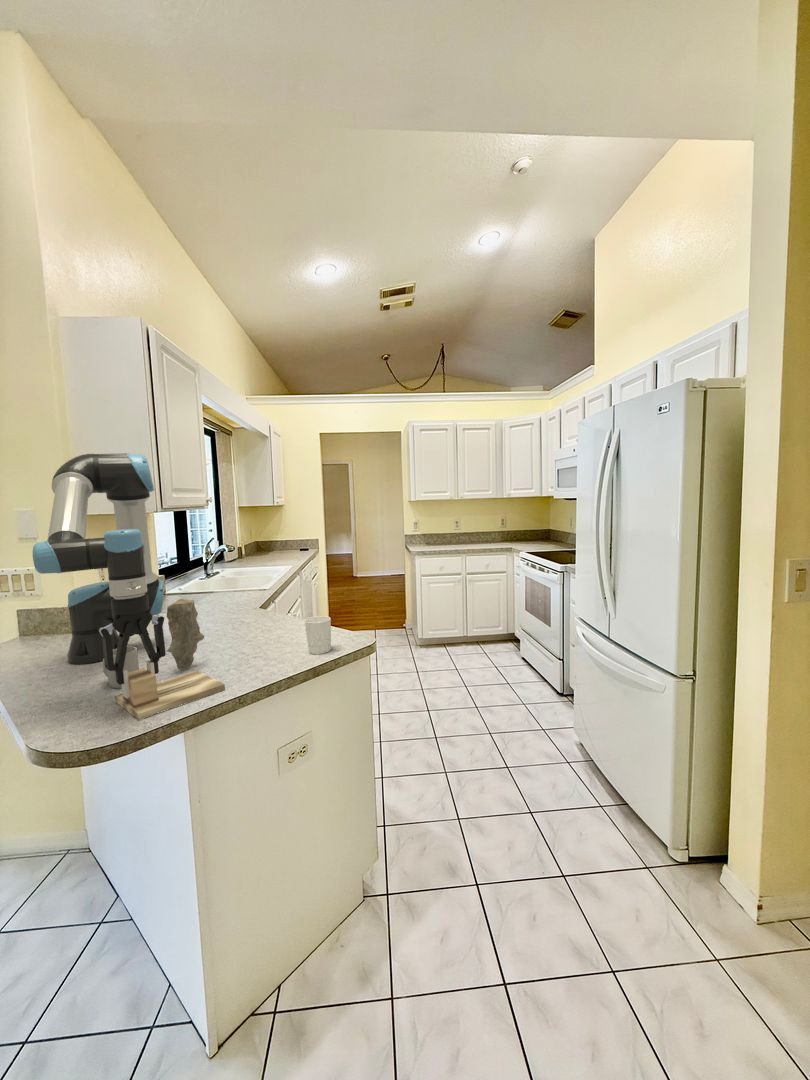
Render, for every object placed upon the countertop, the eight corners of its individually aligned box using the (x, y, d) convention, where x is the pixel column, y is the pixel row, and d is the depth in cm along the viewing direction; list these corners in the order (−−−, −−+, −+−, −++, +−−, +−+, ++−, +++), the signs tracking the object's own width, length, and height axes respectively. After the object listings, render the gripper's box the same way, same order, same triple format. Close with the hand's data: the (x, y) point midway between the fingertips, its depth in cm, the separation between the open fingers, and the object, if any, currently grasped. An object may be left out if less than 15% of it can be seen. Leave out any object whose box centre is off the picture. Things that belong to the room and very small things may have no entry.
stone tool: (174, 677, 128) (167, 606, 127) (162, 674, 131) (155, 604, 129) (212, 662, 139) (206, 596, 137) (200, 660, 142) (194, 595, 140)
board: (115, 701, 114) (114, 695, 114) (197, 675, 129) (196, 670, 129) (139, 720, 104) (138, 713, 103) (225, 689, 118) (224, 683, 118)
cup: (125, 689, 122) (121, 656, 121) (94, 687, 124) (90, 654, 124) (146, 678, 129) (143, 647, 128) (116, 676, 131) (113, 646, 131)
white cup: (337, 648, 146) (335, 617, 146) (320, 656, 140) (318, 623, 139) (319, 645, 151) (317, 615, 150) (301, 652, 144) (299, 621, 143)
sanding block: (123, 698, 112) (120, 674, 111) (146, 691, 116) (143, 667, 115) (134, 708, 106) (131, 682, 106) (158, 700, 110) (156, 675, 110)
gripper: (88, 605, 100) (101, 710, 102) (176, 590, 113) (185, 683, 115) (79, 601, 105) (91, 701, 107) (163, 587, 118) (172, 676, 120)
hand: (139, 691), depth 111 cm, fingers closed on sanding block, 5 cm apart
